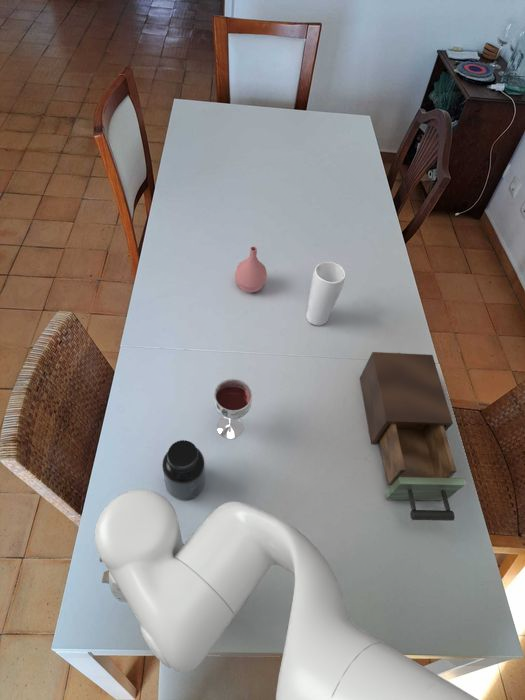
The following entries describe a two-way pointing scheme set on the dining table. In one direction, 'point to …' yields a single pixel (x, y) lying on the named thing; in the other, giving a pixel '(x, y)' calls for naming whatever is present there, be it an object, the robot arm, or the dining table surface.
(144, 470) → the dining table surface
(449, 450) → the drawer
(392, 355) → the cabinet
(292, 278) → the dining table surface
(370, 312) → the dining table surface
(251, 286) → the pink bulb vase
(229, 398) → the wineglass
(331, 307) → the drinking glass
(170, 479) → the supplement bottle
